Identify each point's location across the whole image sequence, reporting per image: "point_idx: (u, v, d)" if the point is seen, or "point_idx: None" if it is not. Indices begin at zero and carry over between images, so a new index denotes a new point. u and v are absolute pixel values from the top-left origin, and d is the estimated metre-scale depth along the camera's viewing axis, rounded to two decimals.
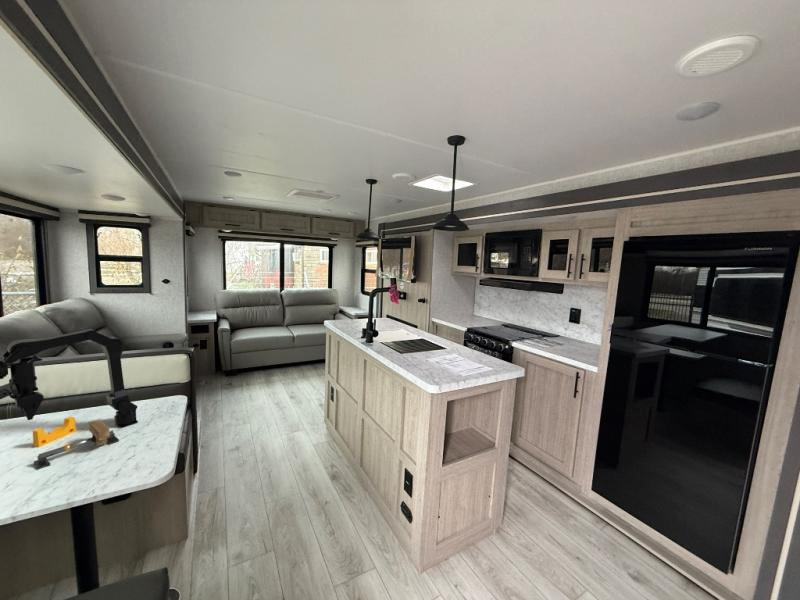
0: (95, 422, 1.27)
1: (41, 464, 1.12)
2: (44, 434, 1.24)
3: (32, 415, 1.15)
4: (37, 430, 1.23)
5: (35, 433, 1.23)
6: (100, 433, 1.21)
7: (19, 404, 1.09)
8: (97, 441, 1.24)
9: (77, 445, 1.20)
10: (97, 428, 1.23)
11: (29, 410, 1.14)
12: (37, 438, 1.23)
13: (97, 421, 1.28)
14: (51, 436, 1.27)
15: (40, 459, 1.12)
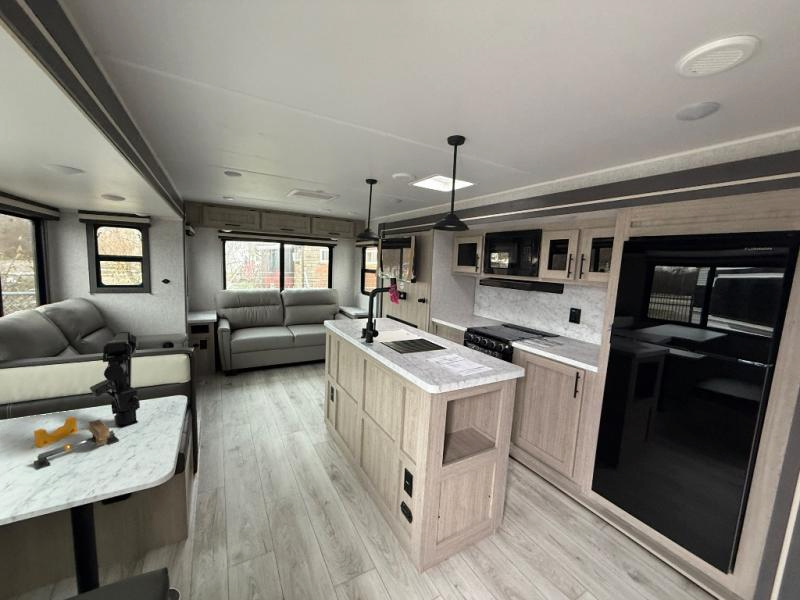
0: (95, 422, 1.27)
1: (41, 464, 1.12)
2: (46, 434, 1.24)
3: (124, 406, 1.30)
4: (39, 431, 1.23)
5: (37, 433, 1.22)
6: (100, 433, 1.21)
7: (120, 398, 1.23)
8: (97, 441, 1.24)
9: (77, 445, 1.20)
10: (97, 428, 1.23)
11: (122, 401, 1.29)
12: (39, 438, 1.23)
13: (97, 421, 1.28)
14: (53, 436, 1.26)
15: (40, 459, 1.12)
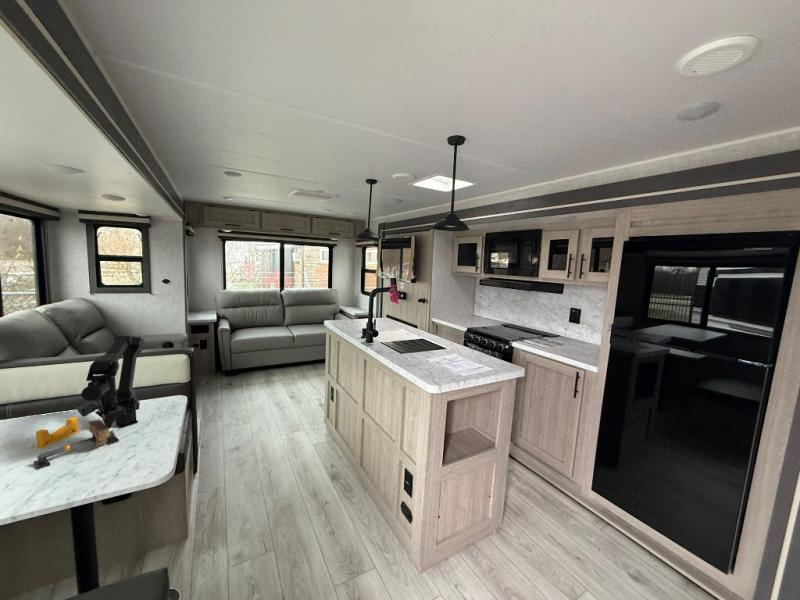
0: (95, 422, 1.27)
1: (41, 464, 1.12)
2: (48, 435, 1.24)
3: (111, 424, 1.28)
4: (41, 431, 1.23)
5: (39, 434, 1.22)
6: (100, 433, 1.21)
7: (107, 418, 1.20)
8: (97, 441, 1.24)
9: (77, 445, 1.20)
10: (97, 428, 1.23)
11: (109, 420, 1.27)
12: (41, 439, 1.22)
13: (97, 421, 1.28)
14: (54, 437, 1.26)
15: (40, 459, 1.12)
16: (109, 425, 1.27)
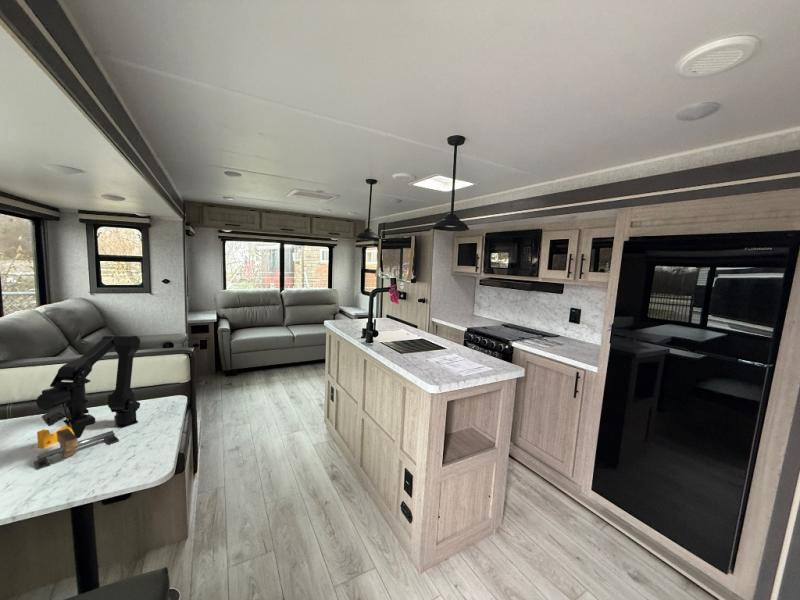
0: (63, 431, 1.20)
1: (41, 464, 1.12)
2: (49, 435, 1.24)
3: (80, 433, 1.20)
4: (42, 431, 1.23)
5: (40, 434, 1.22)
6: (67, 444, 1.14)
7: (74, 427, 1.13)
8: (65, 452, 1.16)
9: None
10: (64, 438, 1.16)
11: (78, 429, 1.19)
12: (42, 439, 1.22)
13: (66, 430, 1.21)
14: (55, 437, 1.26)
15: (40, 459, 1.12)
16: (78, 434, 1.20)
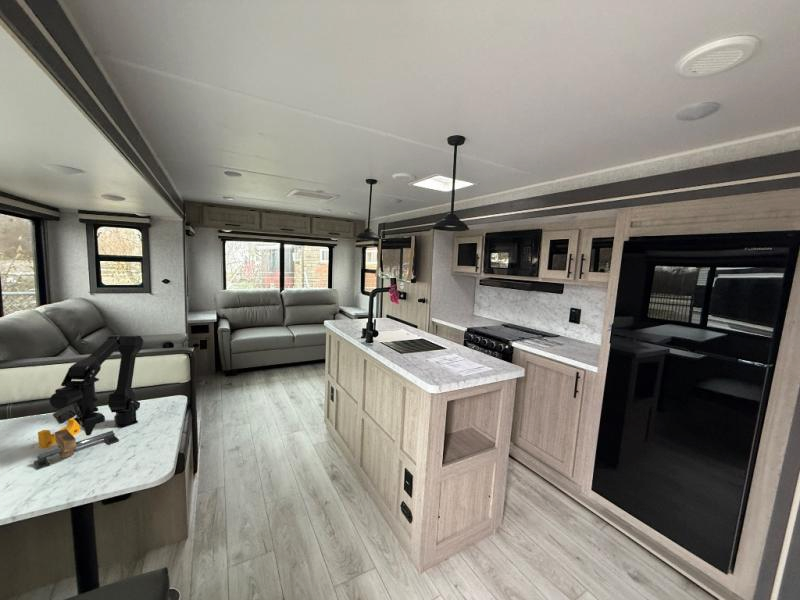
0: (62, 432, 1.19)
1: (41, 464, 1.12)
2: (50, 435, 1.24)
3: (90, 431, 1.23)
4: (43, 431, 1.23)
5: (41, 434, 1.22)
6: (65, 444, 1.13)
7: (84, 425, 1.15)
8: (63, 452, 1.16)
9: (77, 445, 1.20)
10: (62, 439, 1.15)
11: (88, 426, 1.22)
12: (43, 439, 1.22)
13: (64, 431, 1.20)
14: None
15: (40, 459, 1.12)
16: (89, 432, 1.23)
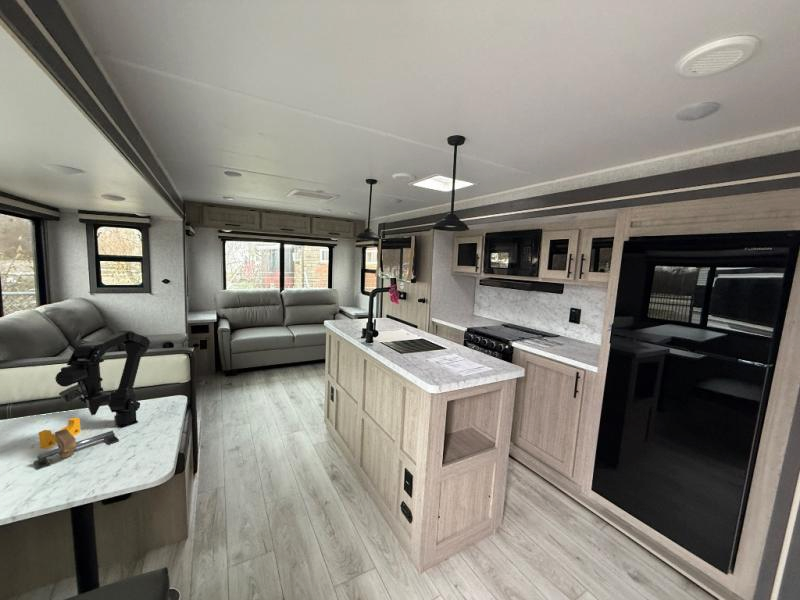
0: (62, 432, 1.19)
1: (41, 464, 1.12)
2: (51, 435, 1.24)
3: (95, 410, 1.26)
4: (44, 431, 1.22)
5: (42, 434, 1.22)
6: (65, 444, 1.13)
7: (91, 403, 1.18)
8: (63, 452, 1.16)
9: (77, 445, 1.20)
10: (62, 439, 1.15)
11: (93, 406, 1.24)
12: (44, 439, 1.22)
13: (64, 431, 1.20)
14: None
15: (40, 459, 1.12)
16: (94, 411, 1.25)
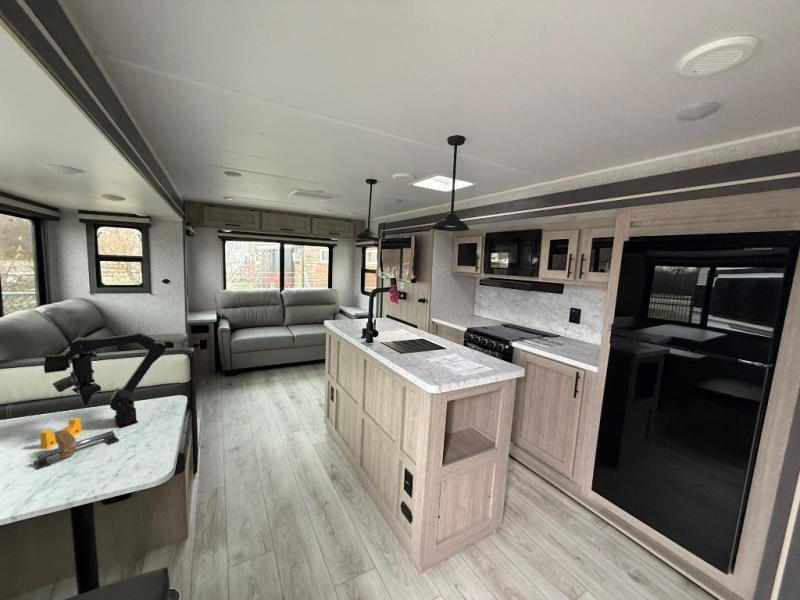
0: (62, 432, 1.19)
1: (41, 464, 1.12)
2: (52, 435, 1.24)
3: (87, 401, 1.33)
4: (45, 431, 1.22)
5: (43, 434, 1.22)
6: (65, 444, 1.13)
7: (82, 393, 1.25)
8: (63, 452, 1.16)
9: (77, 445, 1.20)
10: (62, 439, 1.15)
11: (85, 396, 1.32)
12: (45, 439, 1.22)
13: (64, 431, 1.20)
14: None
15: (40, 459, 1.12)
16: (85, 401, 1.33)
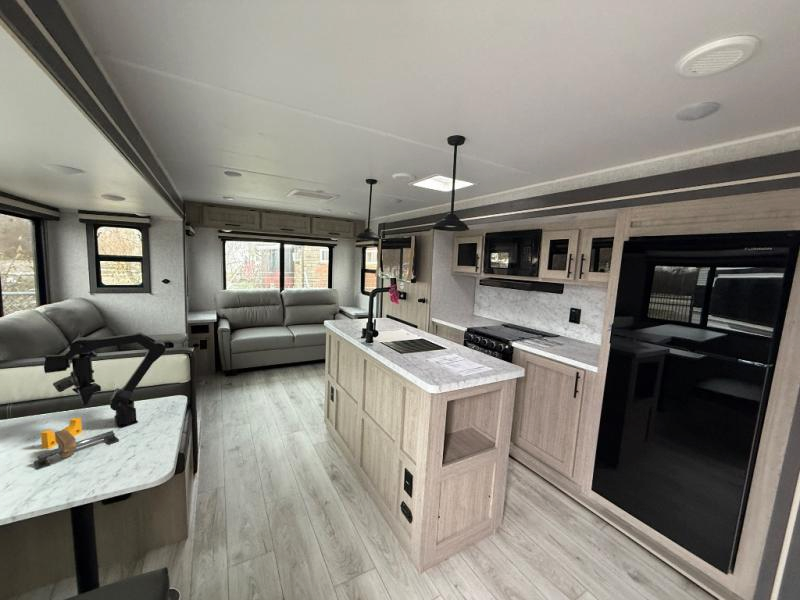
0: (62, 432, 1.19)
1: (41, 464, 1.12)
2: (53, 435, 1.24)
3: (87, 401, 1.33)
4: (46, 432, 1.22)
5: (44, 434, 1.22)
6: (65, 444, 1.13)
7: (82, 393, 1.25)
8: (63, 452, 1.16)
9: (77, 445, 1.20)
10: (62, 439, 1.15)
11: (85, 396, 1.32)
12: (46, 439, 1.22)
13: (64, 431, 1.20)
14: None
15: (40, 459, 1.12)
16: (85, 401, 1.33)
